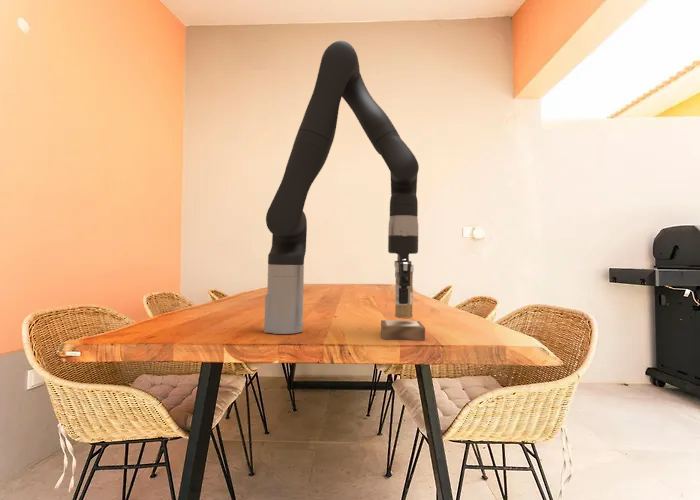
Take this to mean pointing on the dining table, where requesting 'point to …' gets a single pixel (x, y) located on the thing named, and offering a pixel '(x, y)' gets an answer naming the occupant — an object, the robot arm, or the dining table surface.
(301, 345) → the dining table surface
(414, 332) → the walnut plinth
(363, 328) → the dining table surface
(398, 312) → the sprinkles bottle
